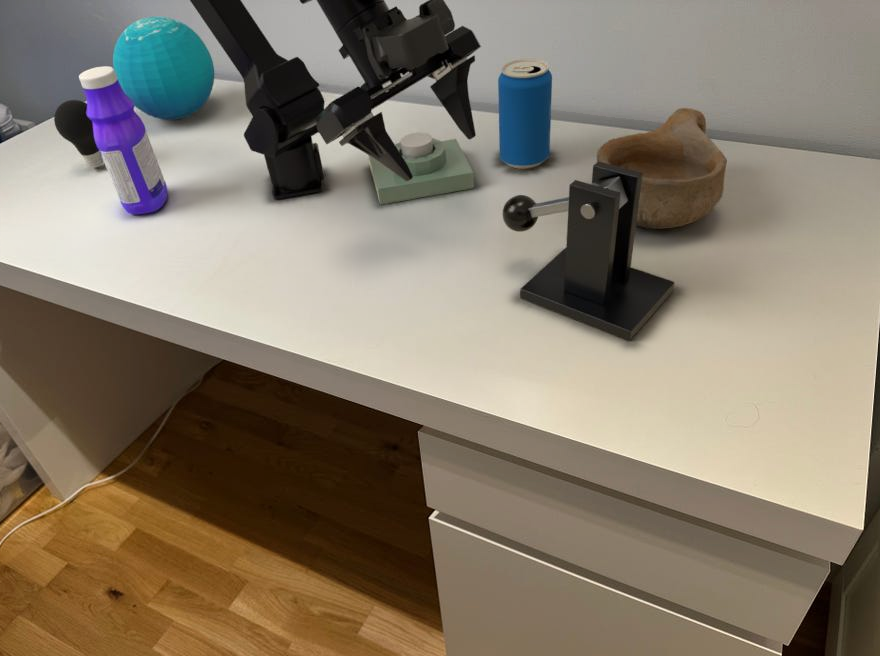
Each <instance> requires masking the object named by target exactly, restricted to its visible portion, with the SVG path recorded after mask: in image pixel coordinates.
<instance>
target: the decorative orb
mask: <svg viewBox="0 0 880 656" xmlns="http://www.w3.org/2000/svg"><path fill="white" fill-rule="evenodd" d="M112 66H113V69H114V71H115V74H116V76H117V78H118V81H119V83H120V86H121V88H122V89H123V91H124V93H125V94H126V95H127V96H128V97H129V98H130V99H131V100H132V101H133V102H134V108H136V109H138V110H139V111H141V112H143V113H144V114H146V115H148V116H150V117H152V118H155V119H161V120H164V121H165V120H166V121H174V120H176V121H177V120H182V119H184V118H187V117H190V116H191V115H193V114H196V112H198V111H199V110H200V109H201V108H202V107H203V106H204V105H205V104H206V103H207V101H208V100H209V98H210V97H211V96H210V95H211V93H212V90H213V86H214V84H215V66H214V61H213V58H212V55H211V53H210V50H209V49H208V47H207V45H206V44H205V42H204V41H203V40H202V38H201V37H200V35H199V34H198V33H197V32H195V30H194V29H193V28H191V27H189V26H188V25H187V24H186V23H183V22H181V21H180V20H176V19H174V18H171V17H167V16H166V17H165V16H158V15H157V16H155V15H154V16H148V17H143V18H141V19H138V20H136V21H134V22H133V23H131V24H130V25H128V26H127V27H126V28H125V30H123V32H122V33H121V34H120V36H119V37H118V39H117V40H116V44H115V46H114V49H113V55H112Z"/></svg>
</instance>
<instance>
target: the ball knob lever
mask: <svg viewBox="0 0 880 656" xmlns="http://www.w3.org/2000/svg"><path fill="white" fill-rule="evenodd" d="M591 184H592V185H595V186H599V187H603V188H606V189H610V190H614V191H617V192H621V195H620V204H619V209H620V208H621V207H622V206H623V205H624V204H625V203H626V202H627V201H628V199H627V196H626V193H625V190H624V187H623V185H622V182H621V179H620V177H615V178H610V179H606V180H601V181H597V182H593V183H592V182H591ZM568 206H569V196H567V197H561V198H557V199H553V200H548V201H547V200H546V201H543V202H537V203H536V201H535V200H534V199H533V198H531V197H530V196H528V195H524V194H518V195H517V194H516V195H514V196H512V197H510V198H509V199H508V200H507V201H506V202H505V204H504V205H503V208H502V220H503V222H504V224H505V226H506V227H507V228H508V229H510V230H511V231H514V232H518V233H519V232H521V233H522V232H526V231H530V229H532V228H533V227H534V226H535V225H536V224H537V222H538V219H539V218H540V217H543V216H549V215H554V214H558V213H565V212H568Z"/></svg>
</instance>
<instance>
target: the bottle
mask: <svg viewBox="0 0 880 656" xmlns="http://www.w3.org/2000/svg"><path fill="white" fill-rule="evenodd" d="M78 79H79V82H80V84H81V87H82V89H83V92H84V94H85V98H86V103H87V111H86V114H87V117H88V118H89V119H90V120H92V123H93V133H94V138H95V142H96V145H97V147H98V149H99V151H100V153H101V156H102V158H103V160H104V162H103V164H104V165H105V168H106V170H107V172H108V174H109V178H110V179H111V181H112V185H113V187H114V190H115V192H116V194H117V196H118V198H119V200H120V204H121V206H122V207H123V209H124V210H125V211H126V212H127V213H128V214H130V215H142V214H150V213H154V212H156V211H158V210H160V209H161V208H162V207H163V206H164V204H165V202H166V201H167V198H168V186H167V185H168V184H167V182H166V180H165V178H164V175H163V172H162V170H161V167H160V164H159V162H158V159H157V157H156V153H155V152H154V149H153V146H152V143H151V139H150V137H149V134H148V132H147V130H146V126H145V124H144V122H143V120H142V118H141V117H140V115H139V114H138V113H137V112H136V111H135V106H134V102H133V101H132V100H131V99H130V98H129V97H128V96H127V95H126V94H125V93H124V91H123V89H122V88H121V86H120V83H119V81H118V78H117V76H116V74H115V71H114V67H112V66H107V65H105V66H96V67H92V68H90V69H87V70H84V71H82V72H81V73H80V74H79V75H78Z"/></svg>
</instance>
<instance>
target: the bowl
mask: <svg viewBox="0 0 880 656" xmlns="http://www.w3.org/2000/svg"><path fill="white" fill-rule="evenodd" d="M706 130H707V122H706V117H705V115H704V113H702V112H701V111H700V110H697V109H694V108H688V107H683V108H678V109H676V110H675V111H674V112H673V113H672V114H671V115H669V117H668V118H667V120H666V121H665V122H664V124H662V125H661V126H659V127H657V128H655V129H653V130H651V131H650V130H649V131H648V132H641V133H634V134H629V135H628V134H627V135H625V136H619V137H616V138H611V139H609V140H608V141H606V142H604V143H603V144H602V145H601V146H599V148H598V150H597V151H596V163H597V162H603V163H607V164H611V165H615V166H619V167H623V168H627V169H631V170H634V171H638V172H642V173H643V175H642V183H641V191H640V199H639V206H638V214H637V222H636V227H640V228H641V227H642V228H646V229H670V228H671V229H672V228H677V227H681V226H686V225H688V224H691V223H694V222H696V221H697V220H700V219H702V218H703V217H704V216H706V215H708V214H709V213H711V211H713V210H714V208H715V206H716V205H717V204H718V203H719V202H720V200H721V199H722V196H723V193H724V188H725V186H724V185H725V175H726V167H727V163H728V160H727V157H726V156H725V155H724V153H723V152H722V150H721V149H719V147H718V146H717V145H716V144H715V143H714V141H713V140H712V139H711V138H710V137H709V136H708V135H707V133H706V132H707V131H706Z"/></svg>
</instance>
